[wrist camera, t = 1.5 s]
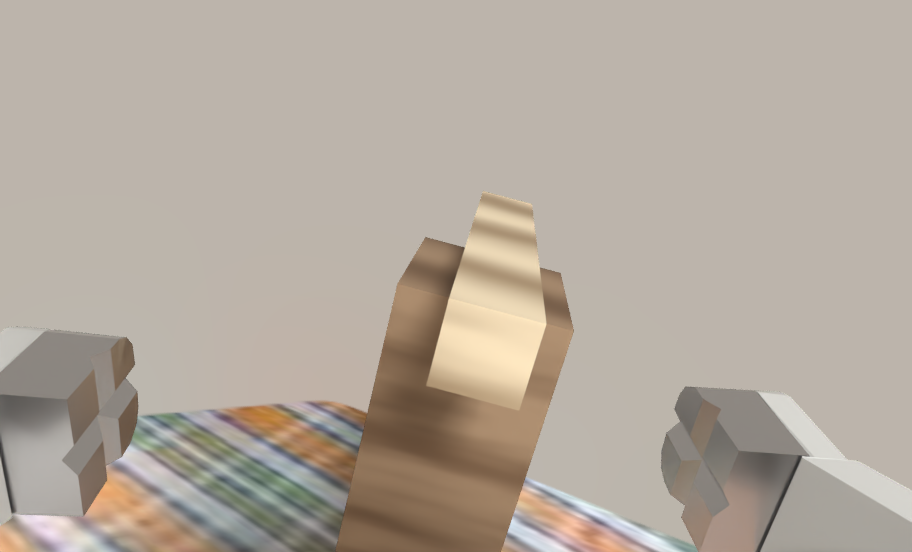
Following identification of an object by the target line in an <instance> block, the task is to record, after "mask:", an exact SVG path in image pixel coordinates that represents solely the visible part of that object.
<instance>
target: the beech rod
mask: <svg viewBox="0 0 912 552" xmlns="http://www.w3.org/2000/svg"><path fill="white" fill-rule="evenodd" d="M545 327H546V316H545V307H544V299H543V291H542V283H541V275H540V267H539V258H538V251H537V242H536V234H535V226H534V218H533V210H532V204H530V203H526V202H523V201H519V200H515V199H511V198H507V197H503V196H500V195H496V194H492V193H489V192H485V191H483V193H482V196H481V199H480V203H479V206H478V209H477V212H476V215H475V218H474V222H473V224H472V228H471V231H470V234H469V237H468V240H467V243H466V246H465V250H464V253H463V256H462V259H461V262H460V265H459V268H458V272H457V275H456V278H455V281H454V284H453V287H452V290H451V294H450V297H449V300H448V304H447V308H446V312H445V316H444V319H443V323H442V327H441V331H440V335H439V339H438V342H437V346H436V350H435V354H434V358H433V362H432V365H431V369H430V373H429V377H428V381H427V384H426V386H429V387H433V388H437V389H440V390H444V391H448V392H451V393H455V394H459V395H463V396H466V397H470V398H474V399H477V400H481V401H485V402H489V403H492V404H496V405H500V406H503V407H507V408H511V409H514V410H518V411H519V410H520V407H521V403H522V400H523V397H524V394H525V391H526V388H527V384H528V381H529V378H530V375H531V372H532V369H533V365H534V362H535V359H536V356H537V353H538V350H539V346H540V343H541V340H542V337H543V334H544V331H545Z"/></svg>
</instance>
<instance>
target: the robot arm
mask: <svg viewBox="0 0 912 552" xmlns="http://www.w3.org/2000/svg"><path fill="white" fill-rule="evenodd" d="M134 365H135V361H134V354H133V346H132V343H131V342H130V341H129V340H128V339H127V337H118V336H109V335H99V334H89V333H80V332H70V331H61V330H50V329H45V328H30V327H8V328H5V329H4V330H3V331H2V332H0V526H1V525H2V524H4V523H5V522H7V521H8V520H10V519H11V518H12V514H20V515H51V516H82V517H83V516H84V515H85V513H86V512H87V510H88V509H89V507H90V506H91V504H92V503H93V501H94V499H95V498H96V496H97V495H98V493H99V492H100V490H101V489H102V487H103V485H104V484H105V482H106V481H107V474H106V465H108V464H110V463H112V462H113V461H115V460H117V459H119V458H121V457H122V456H123V454H124V452H125V451H126V449H127V447H128V446H129V444H130V442H131V439H132V436H133V433H134V430H135V427H136V423H137V414H138V396H137V391H136V389H135V388H134V387H133V386H132V385H131V384H130V383H129V381H128V380H127V379H126V376H127V375H128V373H129V372H130V371H131V369H132V368H133V367H134ZM675 411H676V414H677V416H678V418H679V420H680V422H679V423H678V424H677V425H675V426H674V427H673V428H672V429H671V430H669V431H668V432H667V434H666V437H665V441H664V444H663V447H662V453H661V454H662V457H661V458H662V459H661V469H662V473H663V478H664V482H665V484H666V486H667V488H668V491H669V493H670V494H671V495H672V496H673V497H674V498H676V499H677V500H678V501H679V502H681V503H682V504H683V505H685V508H684V511H683V514H682V517H681V518H682V520H683V522H684V523H685V526H686V528H687V530H688V532H689V534H690V536H691V537H692V540H693V541H694V544H695V546H696V548H697V550H698V552H912V490H910V489H908V488H906V487H905V486H903V485H901V484H899V483H897V482H895V481H894V480H892V479H890V478H888V477H886V476H884V475H883V474H881V473H879V472H877V471H875V470H874V469H871V468H870V467H868V466H866V465H864V464H863V463H861V462H859V461H855V460H847V459H846V458H845V457H844V456H843V455H842V453H840V451H839V450H838V449H837V448H836V447H835V446H834V445H833V444H832V442H831V441H830V440H829V439H828V438H827V437H826V436H825V435H824V433H823V432H822V431H821V430H820V429H819V428H818V427H817V426H816V425H815V424H814V423H813V421H812V420H811V419H810V418H809V417H808V416H807V415H806V414H805V413H804V411H802V409H801V408H800V407H799V406H798V405H797V404H796V403H795V401H794V400H793V399H792V398H791V397H790V396H789V395H786V394H784V393H782V392H778V391H757V390H736V389H717V388H701V387H685V388H684V389H683V391H682V392H681V393H680V395H679V397H678V400H677V403H676V406H675Z"/></svg>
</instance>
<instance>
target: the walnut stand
mask: <svg viewBox="0 0 912 552" xmlns="http://www.w3.org/2000/svg"><path fill="white" fill-rule="evenodd" d="M464 250H465V248H464V247H460V246H457V245H453V244H449V243H445V242H442V241H438V240H434V239H430V238H427V237H426V238H425V239H424V241H423V242H422V244H421V246H420V247H419V249H418V251H417V252H416V254H415V256H414V258H413V259H412V261H411V262H410V264H409V266H408V267H407V269H406V271H405V273H404V274H403V276H402V278H401V279H400V281H399V282H398V284H397V289H396V293H395V297H394V302H393V306H392V310H391V314H390V319H389V323H388V327H387V331H386V336H385V340H384V344H383V349H382V354H381V357H380V361H379V366H378V370H377V374H376V379H375V383H374V387H373V391H372V396H371V400H370V404H369V409H368V413H367V417H366V422H365V426H364V430H363V434H362V439H361V443H360V447H359V452H358V456H357V460H356V464H355V469H354V473H353V477H352V482H351V486H350V490H349V495H348V499H347V503H346V507H345V512H344V516H343V520H342V525H341V529H340V533H339V537H338V542H337V546H336V550H335V552H501V550H502V547H503V544H504V541H505V538H506V535H507V532H508V529H509V526H510V523H511V520H512V517H513V514H514V510H515V507H516V504H517V501H518V498H519V495H520V492H521V489H522V486H523V483H524V480H525V477H526V474H527V471H528V468H529V465H530V462H531V459H532V456H533V453H534V450H535V447H536V444H537V441H538V438H539V435H540V432H541V429H542V426H543V423H544V420H545V417H546V414H547V411H548V408H549V405H550V402H551V399H552V396H553V393H554V390H555V387H556V383H557V380H558V377H559V374H560V371H561V368H562V365H563V362H564V359H565V356H566V353H567V350H568V347H569V344H570V341H571V338H572V335H573V332H574V329H573V325H572V321H571V317H570V312H569V308H568V303H567V299H566V295H565V291H564V286H563V282H562V277H561V273H558V272H555V271H551V270H547V269H543V268H540V275H541V283H542V291H543V299H544V307H545V316H546V327H545V331H544V334H543V337H542V340H541V343H540V346H539V350H538V353H537V356H536V359H535V362H534V365H533V369H532V372H531V375H530V378H529V381H528V384H527V388H526V391H525V394H524V397H523V400H522V403H521V407H520V410H519V411H518V410H514V409H511V408H507V407H503V406H500V405H496V404H492V403H489V402H485V401H481V400H477V399H474V398H470V397H466V396H463V395H459V394H455V393H451V392H448V391H444V390H440V389H437V388H433V387H429V386H426V384H427V381H428V377H429V373H430V369H431V365H432V362H433V358H434V354H435V350H436V346H437V342H438V339H439V335H440V331H441V327H442V323H443V319H444V316H445V312H446V308H447V304H448V300H449V297H450V294H451V290H452V287H453V284H454V281H455V278H456V275H457V272H458V268H459V265H460V262H461V259H462V256H463V253H464Z"/></svg>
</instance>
